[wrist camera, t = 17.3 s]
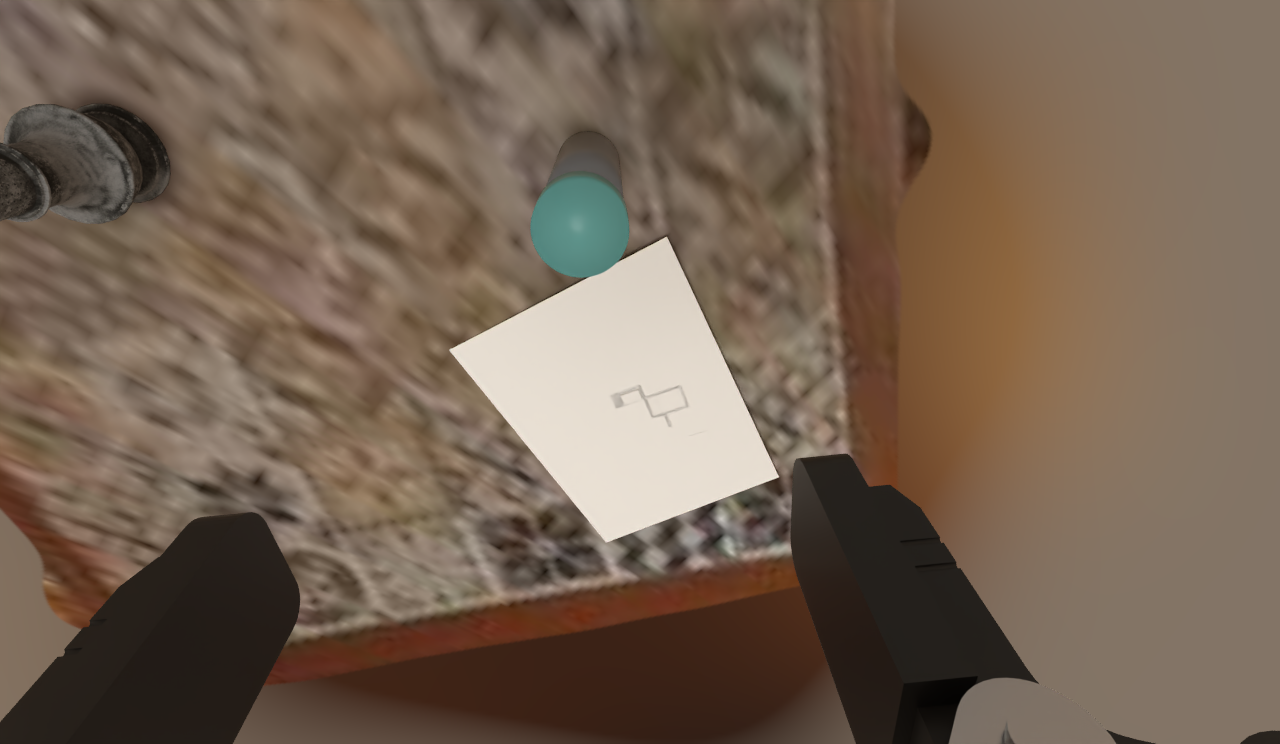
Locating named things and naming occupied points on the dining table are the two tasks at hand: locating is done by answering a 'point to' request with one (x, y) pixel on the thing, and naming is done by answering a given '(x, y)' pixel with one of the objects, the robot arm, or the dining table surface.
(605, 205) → the marker
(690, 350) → the paper sheet
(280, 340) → the dining table surface
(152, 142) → the weathered grey finial
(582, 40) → the dining table surface
